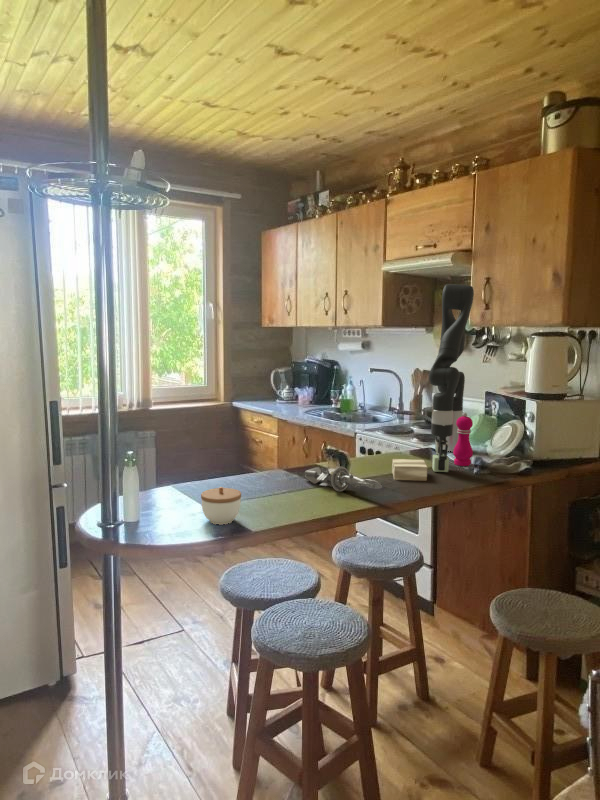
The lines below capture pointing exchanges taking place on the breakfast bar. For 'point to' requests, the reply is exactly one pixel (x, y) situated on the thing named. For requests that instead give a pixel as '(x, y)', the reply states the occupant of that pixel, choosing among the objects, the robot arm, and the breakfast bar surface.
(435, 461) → the green cube
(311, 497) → the breakfast bar surface
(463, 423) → the pepper mill
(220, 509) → the lidded jar
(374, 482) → the spaceship
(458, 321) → the robot arm
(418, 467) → the birch block
